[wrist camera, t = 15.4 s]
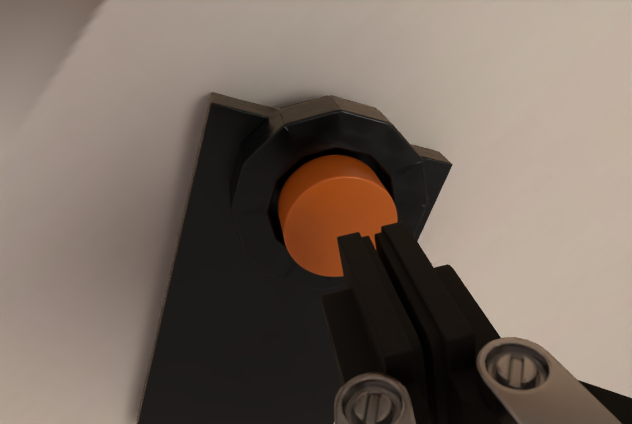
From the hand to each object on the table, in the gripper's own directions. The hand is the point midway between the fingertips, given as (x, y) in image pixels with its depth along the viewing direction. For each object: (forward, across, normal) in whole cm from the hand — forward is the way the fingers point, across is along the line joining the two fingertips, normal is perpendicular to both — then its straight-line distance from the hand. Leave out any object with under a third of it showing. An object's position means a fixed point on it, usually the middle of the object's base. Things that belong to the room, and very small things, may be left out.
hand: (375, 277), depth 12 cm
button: (+5, 0, +1) cm, 5 cm away
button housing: (+7, +3, +6) cm, 10 cm away
